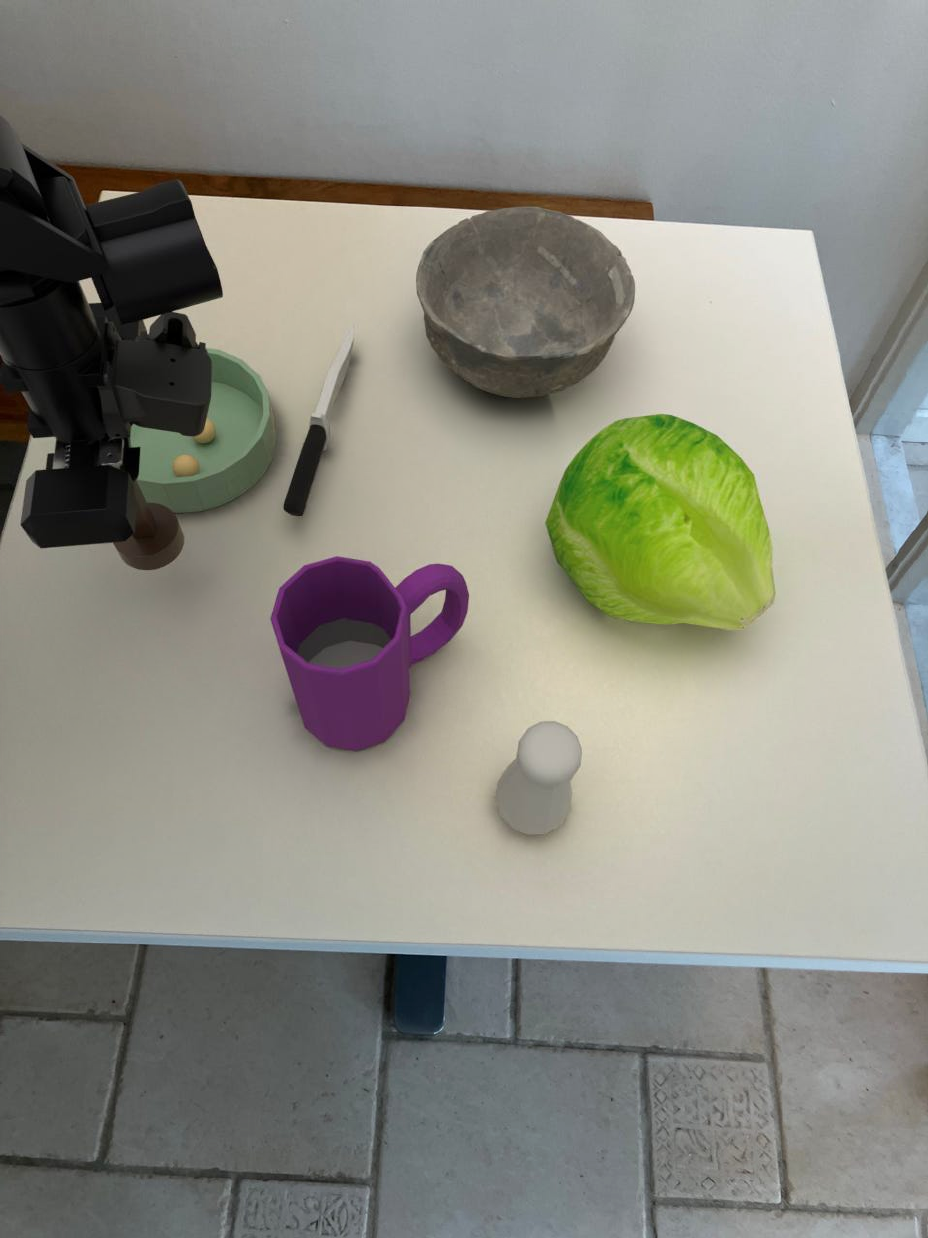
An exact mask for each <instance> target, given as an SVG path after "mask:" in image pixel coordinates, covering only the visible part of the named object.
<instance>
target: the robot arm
mask: <svg viewBox="0 0 928 1238" xmlns="http://www.w3.org/2000/svg"><path fill="white" fill-rule="evenodd" d="M88 279H91V281H92V283H93V287H94V288H95V291H96V294H97V295H98V299H99V301H100V302H89V301H88V298H87V296H86V294H85V292H84V289H83V287H82V284H81V283H80V281H84V280H88ZM222 298H224V291H223V287H222V282H221V278H220V273H219V269H218V267H217V265H216V263H215V261H214V258H213V256H212V255H211V252H210V250H209V248H208V246H207V244H206V241H205V239H204V235H203V233H202V231H201V228H200V225H199V223H198V220H197V218H196V213H195V210H194V206H193V202H192V200H191V197H190V196H189V194H188V192H187V190H186V188H185V186H184V184H183V182H182V181H181V180H180V179H172V180H168V181H164V182H160V183H157V184H154V185H153V186H150V187H149V188H147V189H145V190H141V191H139V192H134V193H130V194H126V195H122V196H118V197H114V198H109V199H106V200H102V201H98V202H94V203H91V204H90V203H89V204H86V205H85V203H84V200H83V197H82V195H81V192H80V191H79V187H78V186H77V183H76V180H75V178H74V177H73V176H72V175H71V174H70V173H68V172H67V171H65V170H63V169H62V168H61V167H59V166H57V165H56V164H54V163H53V162H51V161H50V160H48V159H46V158H45V157H44V156H42V155H40V154H39V153H38V152H36V151H35V150H33V149H32V148H30V147H29V146H27V145H26V144H24V143H22V141H21V138H20V136H19V135H18V133H17V132H16V130H15V129H14V127H13V126H12V125H11V123H10V122H9V121H8V120H7V119H6V118H4V117H3V116H2V115H1V114H0V357H1V365H0V385H1V387H2V388H3V390H4V392H5V393H7V394H9V393H22V395H23V397H24V399H25V401H26V402H27V405H28V406H29V409H28V410H29V411H28V416H27V417H28V419H27V425H26V429H27V430H28V432H29V434H30V435H31V437H32V439H44V438H45V439H46V438H55V443H54V444H55V445H54V452H49V453H47V455H46V464H45V469H36V470H34V471H33V472H32V474H31V475H30V476H29V477H28V478H27V480H25V487H24V495H23V502H22V510H21V516H20V526H21V528H22V529H23V531H24V532H25V533H26V535H27V536H28V538H29V539H30V541H31V542H32V543H33V544H34V545H36V546H37V547H38V548H39V549H51V548H62V547H63V548H64V547H76V546H77V547H78V546H89V545H100V544H101V545H102V544H113V543H114V542H125V541H126V540H127V539H129V538H130V537H131V536H132V535H133V534H134V533H135V517H136V501H137V500H136V494H135V488H134V482H135V481H136V480H137V479H138V476H139V465H140V449H141V447H131V439H130V436H131V426H132V425H133V424H135V425H137V426H140V427H144V428H150V429H157V430H164V431H170V432H177V433H180V434H181V435H183V436H191V437H192V436H198V435H200V434H201V433H202V432H203V431H204V428H205V423H206V419H207V414H208V409H209V405H210V400H211V382H212V361H211V358H210V357H209V356H208V352H207V350H206V348H207V347H206V346H207V344H206V342H202V341H199V343H198V342H197V334H196V332H195V329H194V327H193V325H192V323H191V321H190V318H189V317H188V315H187V314H186V313H182V312H181V313H180V312H176V311H180V310H184V309H186V308H189V307H190V308H191V307H193V306H196V305H200V304H204V303H207V302H211V301H215V300H218V299H222ZM155 317H157V318H156V319H155V320H154V321H153V322H152V324H151V325H150V326H149V329H148V330H147V327H146V325H145V322H144V320H147V319H151V318H155ZM148 331H149V332H148Z"/></svg>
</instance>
